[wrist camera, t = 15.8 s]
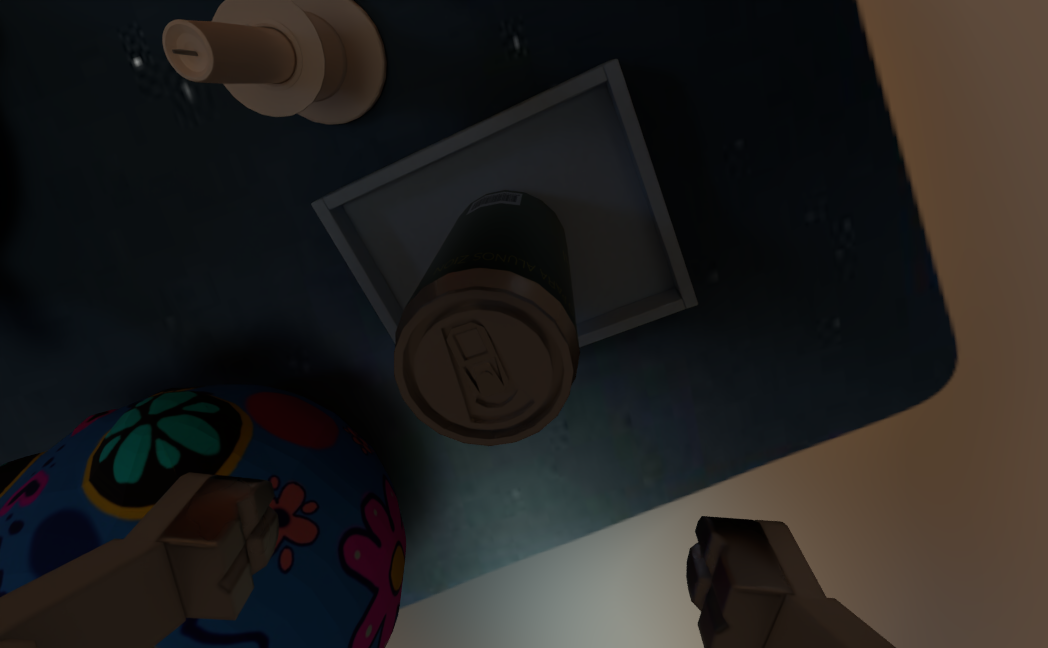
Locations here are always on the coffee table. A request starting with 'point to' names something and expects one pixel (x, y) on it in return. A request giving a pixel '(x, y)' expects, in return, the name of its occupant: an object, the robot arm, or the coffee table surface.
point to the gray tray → (543, 172)
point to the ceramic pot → (231, 450)
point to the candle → (285, 56)
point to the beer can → (492, 325)
